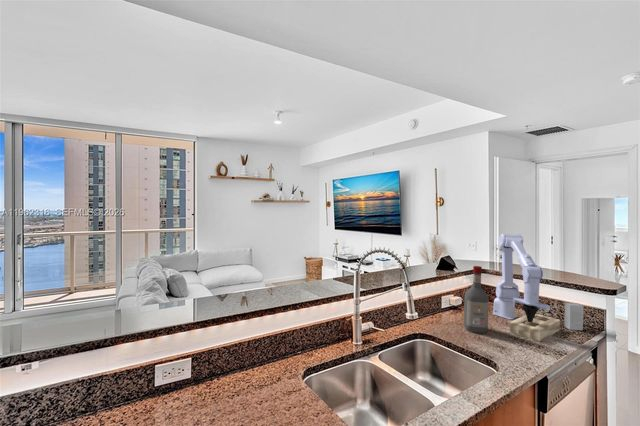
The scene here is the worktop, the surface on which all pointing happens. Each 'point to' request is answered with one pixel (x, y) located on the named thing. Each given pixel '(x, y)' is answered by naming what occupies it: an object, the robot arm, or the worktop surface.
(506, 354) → the worktop surface
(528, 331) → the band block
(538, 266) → the robot arm
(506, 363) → the worktop surface
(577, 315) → the skincare box
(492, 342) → the worktop surface
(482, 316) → the liquor
